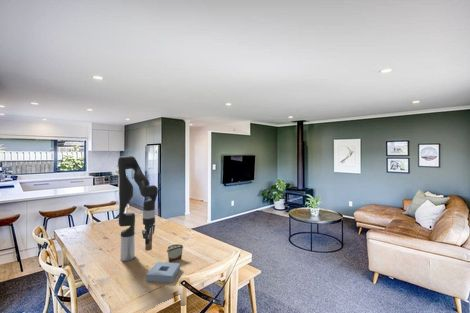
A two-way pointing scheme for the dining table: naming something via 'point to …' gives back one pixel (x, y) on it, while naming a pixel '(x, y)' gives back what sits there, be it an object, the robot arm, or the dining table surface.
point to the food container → (174, 252)
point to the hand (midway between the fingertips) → (148, 242)
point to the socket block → (163, 272)
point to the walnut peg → (149, 246)
